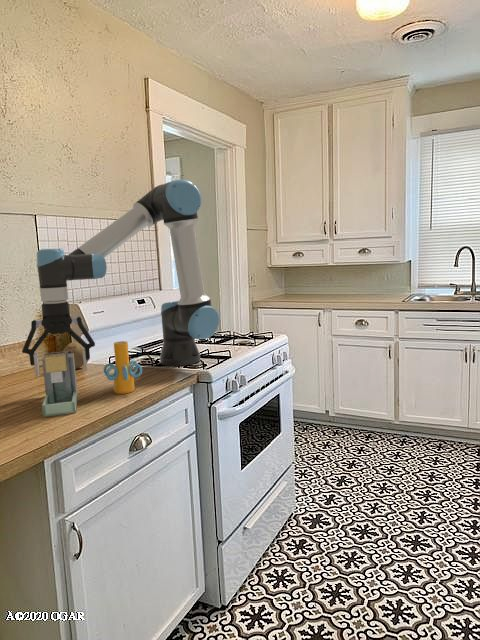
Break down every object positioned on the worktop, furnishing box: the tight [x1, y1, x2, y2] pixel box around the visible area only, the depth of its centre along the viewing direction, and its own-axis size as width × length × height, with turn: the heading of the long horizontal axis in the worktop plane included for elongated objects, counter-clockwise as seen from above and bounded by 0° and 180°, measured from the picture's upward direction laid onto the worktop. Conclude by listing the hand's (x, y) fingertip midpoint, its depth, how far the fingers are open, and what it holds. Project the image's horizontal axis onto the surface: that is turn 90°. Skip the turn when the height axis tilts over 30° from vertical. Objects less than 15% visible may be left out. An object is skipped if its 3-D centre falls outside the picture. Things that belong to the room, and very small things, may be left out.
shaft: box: [49, 351, 72, 383], centre depth 140 cm, size 6×22×6 cm, turn 16°
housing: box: [42, 351, 79, 404], centre depth 139 cm, size 8×9×15 cm
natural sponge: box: [62, 341, 89, 370], centre depth 183 cm, size 9×9×10 cm
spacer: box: [45, 353, 67, 373], centre depth 131 cm, size 5×4×4 cm
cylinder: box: [103, 340, 143, 395], centre depth 147 cm, size 12×10×15 cm
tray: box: [41, 392, 78, 418], centre depth 133 cm, size 8×11×3 cm
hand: (62, 373), depth 147 cm, fingers open, 13 cm apart
